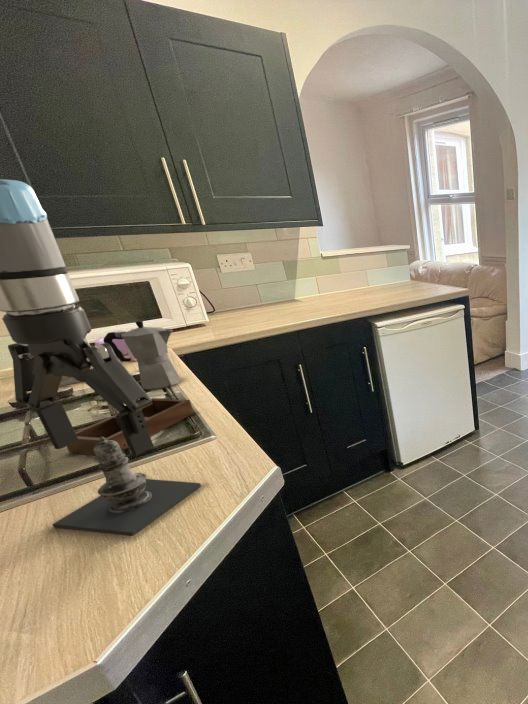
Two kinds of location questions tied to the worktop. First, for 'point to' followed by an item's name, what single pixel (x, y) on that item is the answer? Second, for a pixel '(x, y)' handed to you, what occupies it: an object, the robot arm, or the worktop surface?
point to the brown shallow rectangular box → (155, 416)
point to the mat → (132, 521)
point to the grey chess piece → (120, 479)
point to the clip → (118, 345)
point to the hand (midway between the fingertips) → (104, 447)
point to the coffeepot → (148, 354)
